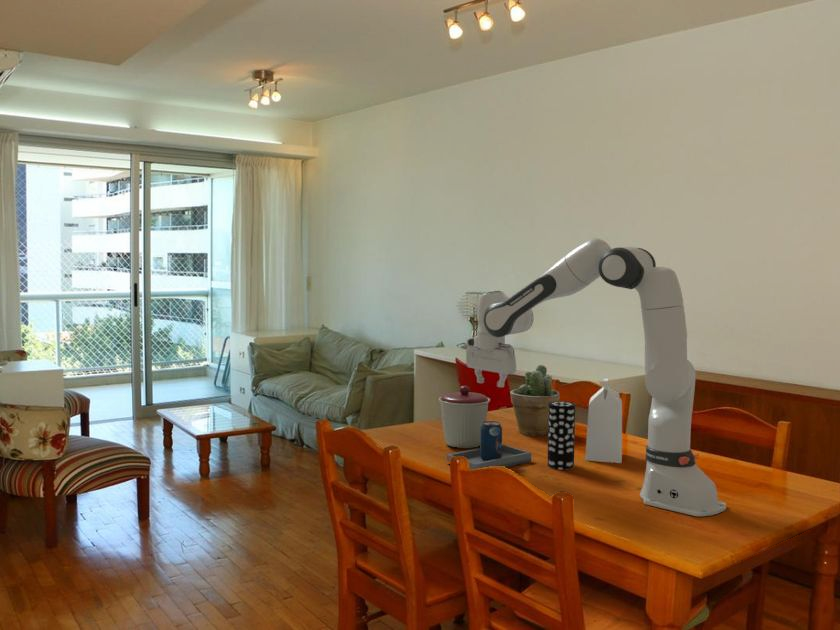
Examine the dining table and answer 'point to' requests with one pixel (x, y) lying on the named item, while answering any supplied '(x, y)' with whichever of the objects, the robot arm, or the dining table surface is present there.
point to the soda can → (491, 440)
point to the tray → (508, 459)
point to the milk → (604, 426)
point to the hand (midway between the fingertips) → (490, 384)
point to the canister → (463, 417)
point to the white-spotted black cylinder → (561, 435)
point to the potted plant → (534, 402)
